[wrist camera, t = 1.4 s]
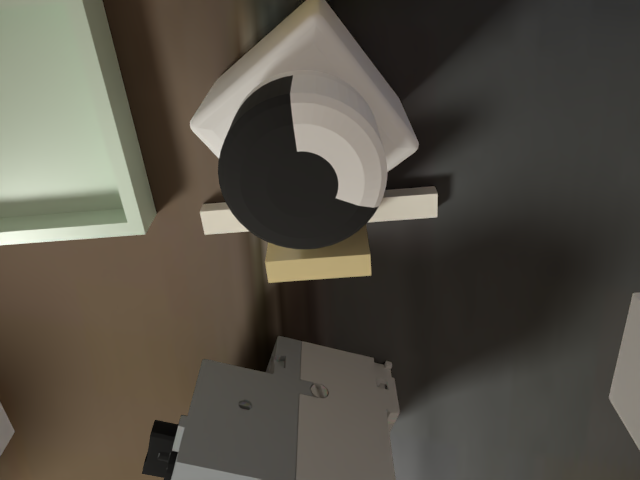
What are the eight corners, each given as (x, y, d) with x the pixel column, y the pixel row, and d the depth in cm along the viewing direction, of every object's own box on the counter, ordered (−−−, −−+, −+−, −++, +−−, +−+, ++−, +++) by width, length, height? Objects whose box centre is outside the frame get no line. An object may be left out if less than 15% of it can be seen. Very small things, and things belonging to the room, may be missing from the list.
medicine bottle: (300, 179, 32) (291, 303, 22) (212, 82, 30) (154, 171, 19) (402, 101, 30) (446, 198, 20) (317, -11, 28) (316, 33, 17)
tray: (-54, 229, 34) (-79, 251, 32) (-160, 1, 28) (-201, 7, 26) (156, 213, 34) (145, 234, 31) (96, -24, 27) (76, -19, 25)
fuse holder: (207, 226, 34) (183, 293, 28) (149, -55, 27) (98, -47, 20) (434, 209, 33) (459, 274, 27) (439, -83, 26) (475, -83, 20)
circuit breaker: (187, 314, 37) (116, 528, 24) (391, 362, 39) (427, 583, 26) (169, 394, 41) (98, 618, 28) (357, 434, 43) (373, 661, 30)
